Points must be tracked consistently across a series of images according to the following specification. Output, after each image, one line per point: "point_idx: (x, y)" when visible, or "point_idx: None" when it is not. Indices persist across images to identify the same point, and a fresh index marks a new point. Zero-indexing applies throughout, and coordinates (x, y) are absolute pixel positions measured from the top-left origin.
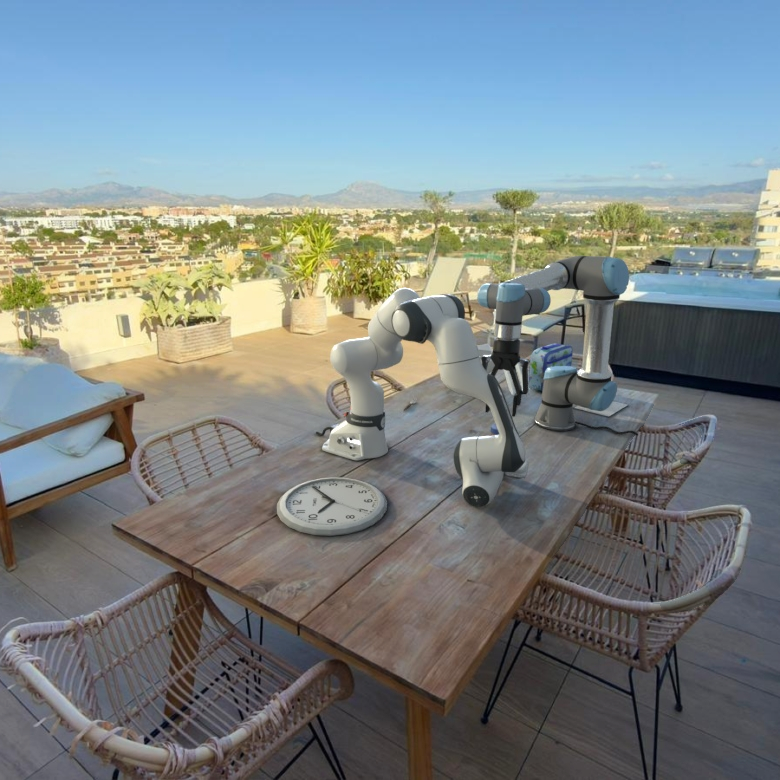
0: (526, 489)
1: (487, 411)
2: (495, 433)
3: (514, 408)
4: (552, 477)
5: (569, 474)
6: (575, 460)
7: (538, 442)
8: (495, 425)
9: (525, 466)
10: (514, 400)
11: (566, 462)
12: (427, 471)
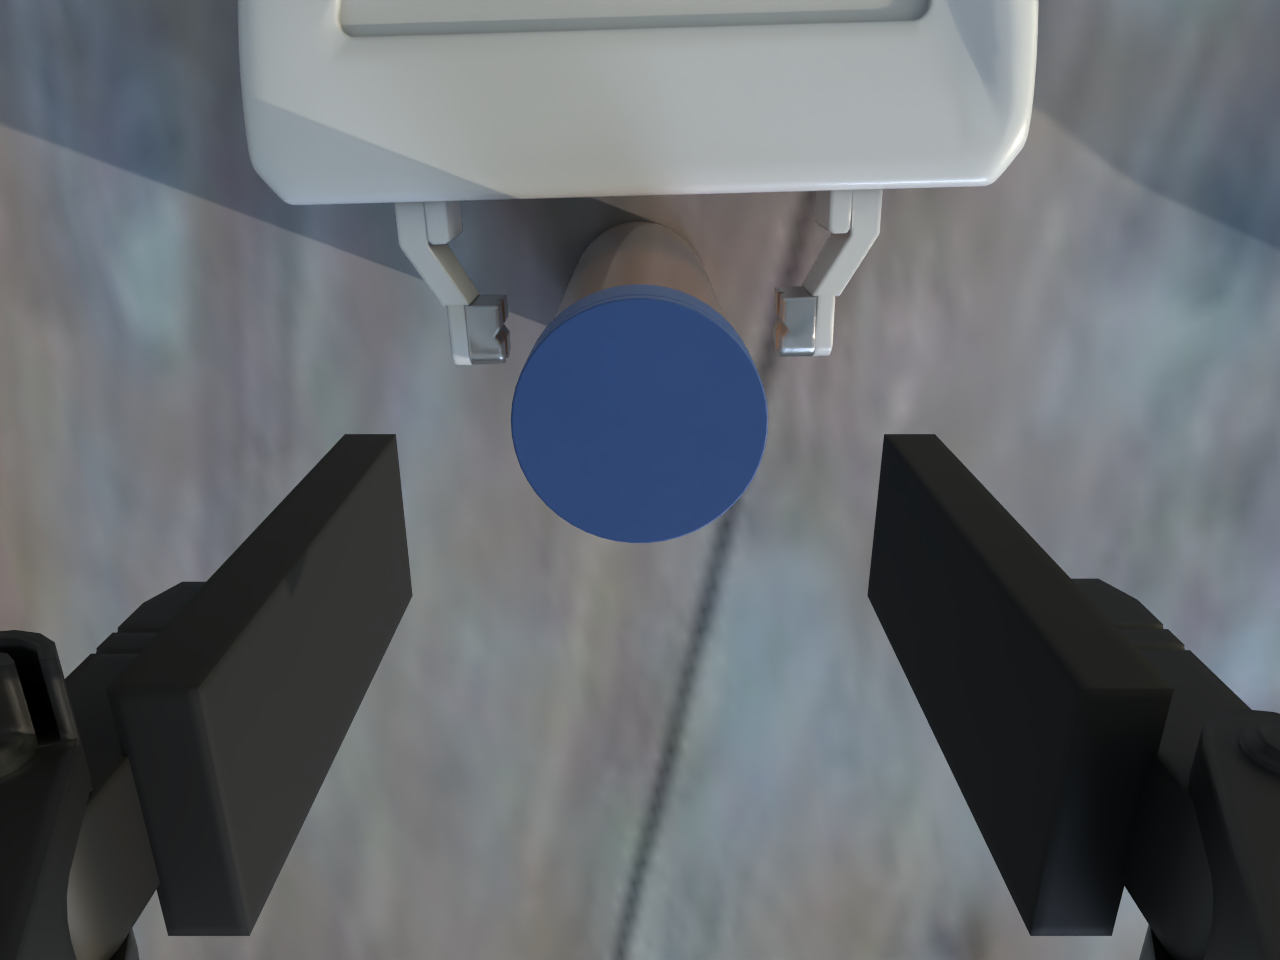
0: None
1: (898, 442)
2: (667, 287)
3: (299, 501)
4: (202, 425)
5: (105, 531)
6: None
7: (463, 945)
8: (707, 453)
9: (238, 17)
10: (232, 595)
11: None
12: (1243, 56)
